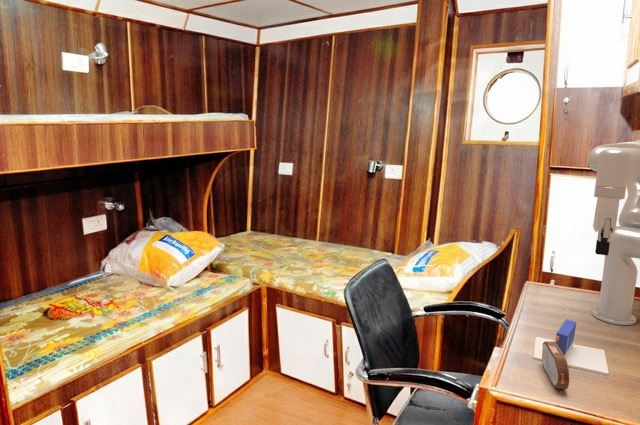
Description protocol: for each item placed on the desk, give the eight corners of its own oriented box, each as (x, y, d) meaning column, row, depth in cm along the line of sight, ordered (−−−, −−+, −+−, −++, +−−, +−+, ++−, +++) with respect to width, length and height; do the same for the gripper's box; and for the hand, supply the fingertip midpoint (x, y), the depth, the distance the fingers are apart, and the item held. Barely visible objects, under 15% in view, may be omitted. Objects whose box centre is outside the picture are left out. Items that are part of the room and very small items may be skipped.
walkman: (566, 319, 134) (556, 333, 125) (576, 321, 132) (567, 336, 123) (562, 343, 135) (552, 359, 126) (572, 346, 134) (563, 362, 125)
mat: (535, 338, 140) (535, 336, 140) (603, 352, 132) (604, 350, 132) (533, 359, 128) (533, 357, 128) (608, 375, 120) (608, 373, 120)
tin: (568, 396, 110) (572, 364, 109) (554, 394, 111) (558, 362, 109) (550, 364, 125) (554, 336, 123) (538, 363, 126) (541, 334, 124)
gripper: (592, 188, 139) (585, 246, 143) (596, 195, 126) (588, 258, 130) (622, 190, 136) (613, 249, 139) (628, 197, 123) (619, 262, 126)
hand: (601, 253), depth 134 cm, fingers closed
